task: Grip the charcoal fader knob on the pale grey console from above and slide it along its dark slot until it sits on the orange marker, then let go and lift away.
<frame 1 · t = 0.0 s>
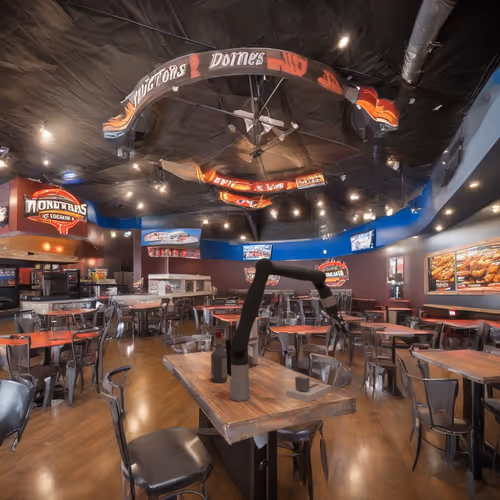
hand: (342, 332, 169), 31 cm above the table, tool tilted 20°, fingers open, 8 cm apart
display case: (247, 367, 226), on the table
liquor: (219, 381, 192), on the table
portable radio: (232, 374, 209), on the table
fader knob: (302, 383, 161), point 7 cm above the table, slide at -6.0 cm
console: (309, 393, 164), on the table
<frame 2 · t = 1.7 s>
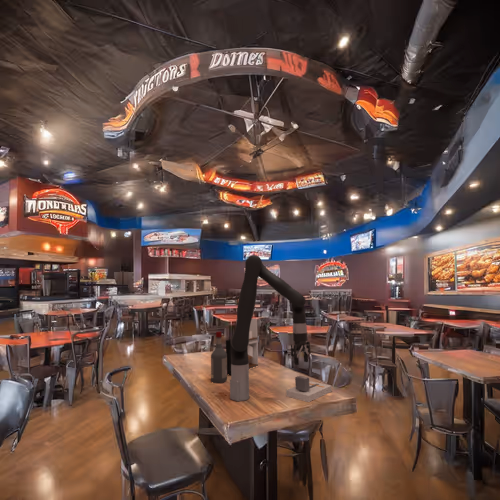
hand: (301, 363, 162), 17 cm above the table, tool pointing down, fingers open, 8 cm apart
nothing on the table moved.
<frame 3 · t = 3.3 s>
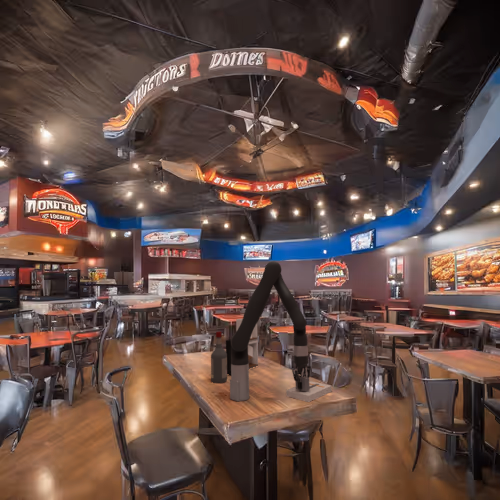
hand: (302, 388, 160), 4 cm above the table, tool pointing down, fingers closed on fader knob, 4 cm apart
fader knob: (302, 383, 161), point 7 cm above the table, slide at -6.0 cm, touching gripper
everything else where it was.
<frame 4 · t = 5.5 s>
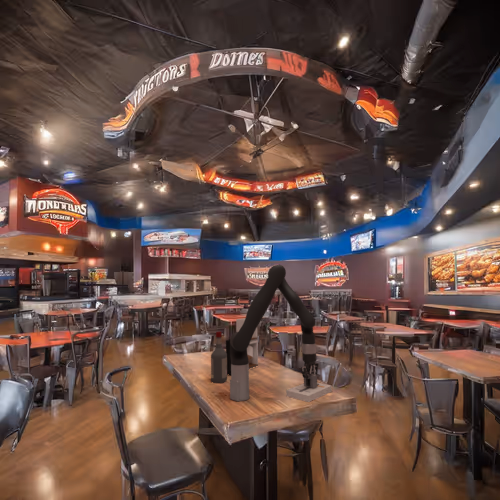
hand: (310, 384, 166), 4 cm above the table, tool pointing down, fingers closed on fader knob, 4 cm apart
fader knob: (310, 380, 166), point 7 cm above the table, slide at 1.6 cm, touching gripper
everything else where it was.
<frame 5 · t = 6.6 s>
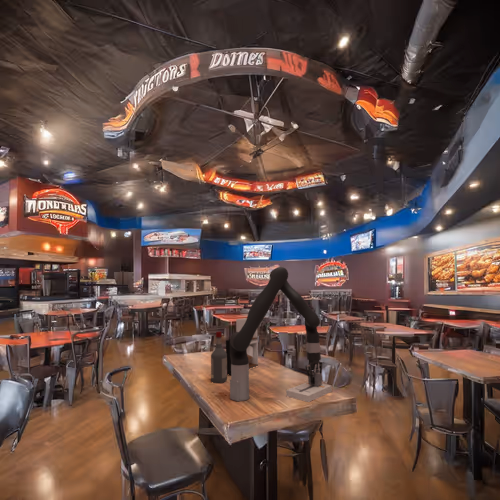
hand: (315, 383, 169), 4 cm above the table, tool pointing down, fingers closed on fader knob, 4 cm apart
fader knob: (314, 378, 169), point 7 cm above the table, slide at 5.9 cm, touching gripper
everything else where it was.
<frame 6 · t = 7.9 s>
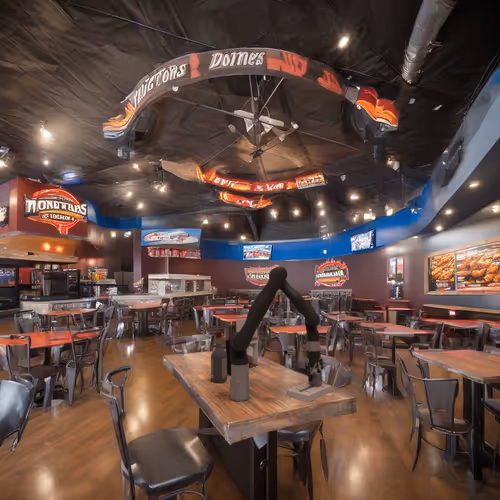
hand: (314, 379, 169), 6 cm above the table, tool pointing down, fingers open, 8 cm apart
fader knob: (315, 378, 169), point 7 cm above the table, slide at 6.0 cm
everything else where it was.
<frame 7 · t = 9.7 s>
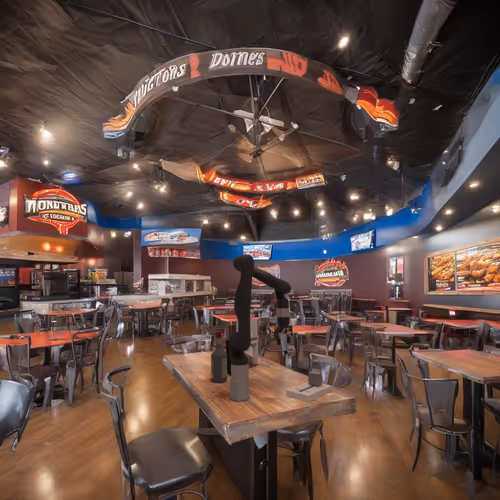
hand: (283, 344, 180), 24 cm above the table, tool pointing down, fingers open, 8 cm apart
nothing on the table moved.
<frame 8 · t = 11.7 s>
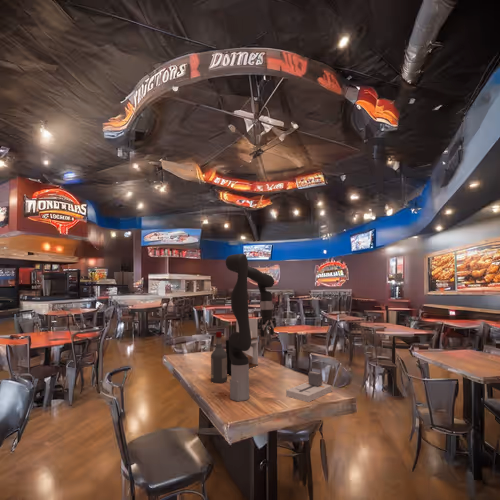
hand: (267, 335, 187), 28 cm above the table, tool pointing down, fingers open, 8 cm apart
nothing on the table moved.
at the end: fader knob slide at 6.0 cm; the gripper is holding nothing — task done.
